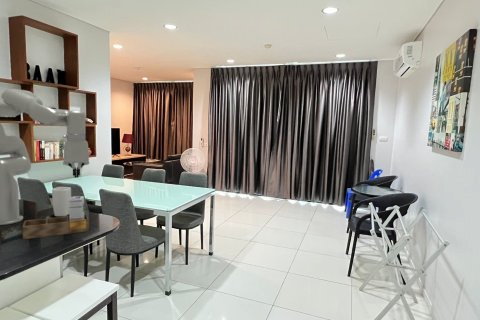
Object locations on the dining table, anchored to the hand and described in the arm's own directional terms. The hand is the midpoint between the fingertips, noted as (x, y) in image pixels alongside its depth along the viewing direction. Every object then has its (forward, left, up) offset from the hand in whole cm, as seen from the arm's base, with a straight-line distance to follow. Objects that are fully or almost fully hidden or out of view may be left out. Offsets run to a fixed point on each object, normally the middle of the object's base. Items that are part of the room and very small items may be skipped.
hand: (76, 177), depth 139 cm
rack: (-7, -5, -25) cm, 26 cm away
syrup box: (0, 0, -24) cm, 24 cm away
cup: (-18, +18, -25) cm, 36 cm away
